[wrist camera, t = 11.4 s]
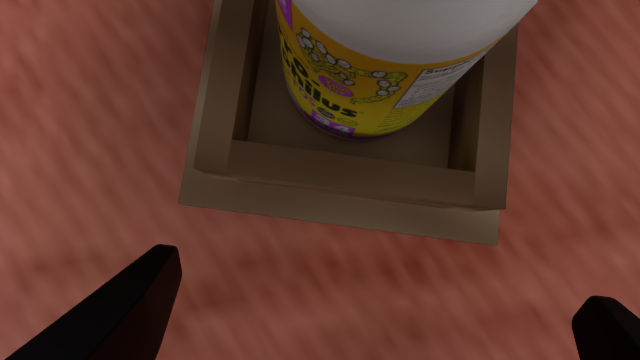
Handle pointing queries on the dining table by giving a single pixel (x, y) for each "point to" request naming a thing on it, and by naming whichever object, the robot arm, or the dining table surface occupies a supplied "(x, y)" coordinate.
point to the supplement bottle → (383, 57)
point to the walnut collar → (345, 143)
